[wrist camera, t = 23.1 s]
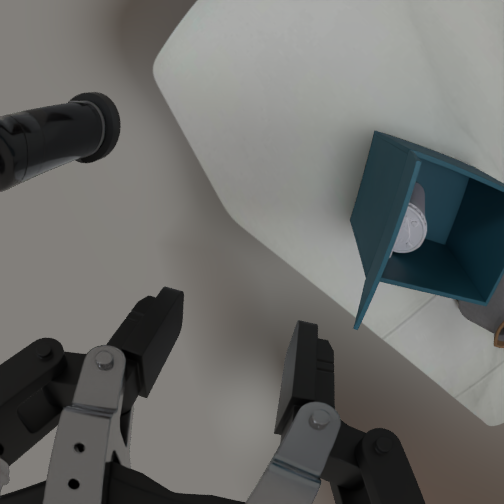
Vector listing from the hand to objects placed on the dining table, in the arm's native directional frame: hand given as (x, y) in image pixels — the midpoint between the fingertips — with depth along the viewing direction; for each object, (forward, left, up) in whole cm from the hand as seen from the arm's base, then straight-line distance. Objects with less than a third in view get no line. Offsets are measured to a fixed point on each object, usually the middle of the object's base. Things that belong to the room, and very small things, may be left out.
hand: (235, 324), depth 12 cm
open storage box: (+13, -12, -33) cm, 38 cm away
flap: (+7, -6, -13) cm, 16 cm away
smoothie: (+13, -11, -32) cm, 36 cm away
